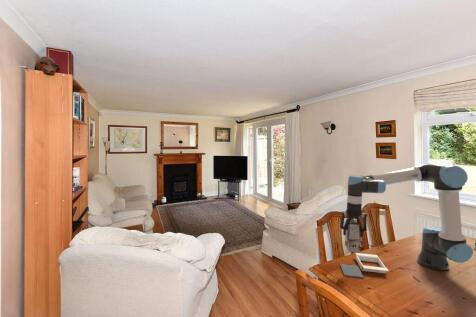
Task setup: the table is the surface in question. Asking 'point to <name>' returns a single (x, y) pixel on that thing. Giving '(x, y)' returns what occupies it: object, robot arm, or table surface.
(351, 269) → the plate
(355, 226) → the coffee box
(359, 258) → the white flat frame piece
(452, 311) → the table surface
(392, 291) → the table surface
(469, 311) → the table surface
